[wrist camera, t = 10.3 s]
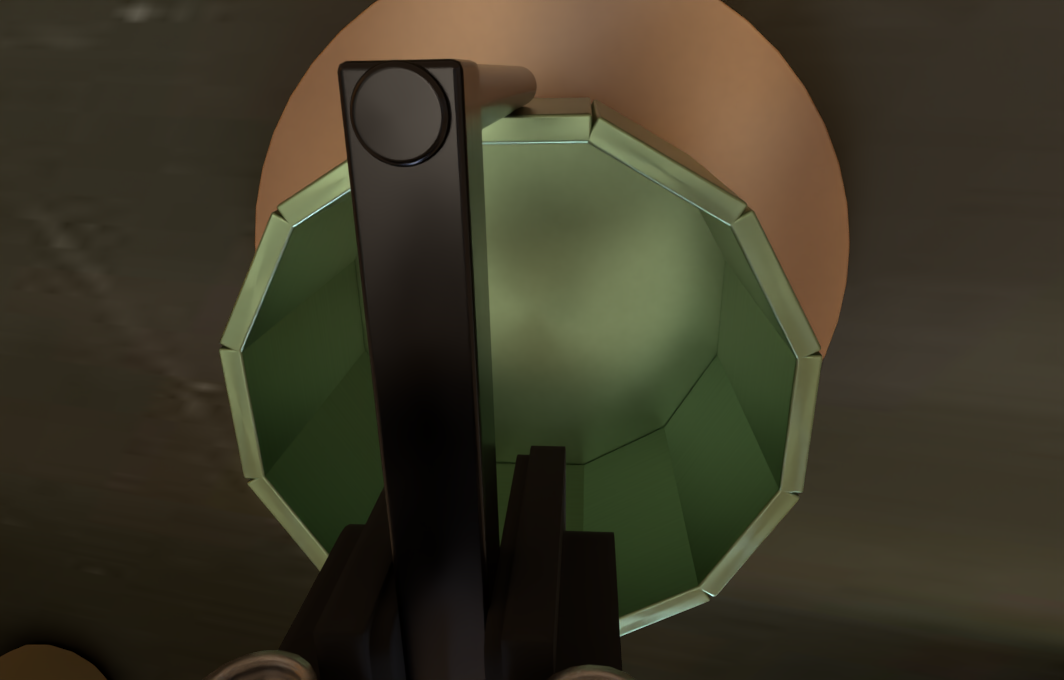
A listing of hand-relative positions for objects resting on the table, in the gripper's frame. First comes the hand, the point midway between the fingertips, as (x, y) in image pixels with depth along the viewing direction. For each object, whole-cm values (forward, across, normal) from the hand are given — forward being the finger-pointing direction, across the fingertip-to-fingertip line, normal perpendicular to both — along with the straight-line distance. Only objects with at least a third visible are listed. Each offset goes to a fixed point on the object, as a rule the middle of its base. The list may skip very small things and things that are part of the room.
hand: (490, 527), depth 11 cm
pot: (+12, 0, 0) cm, 12 cm away
